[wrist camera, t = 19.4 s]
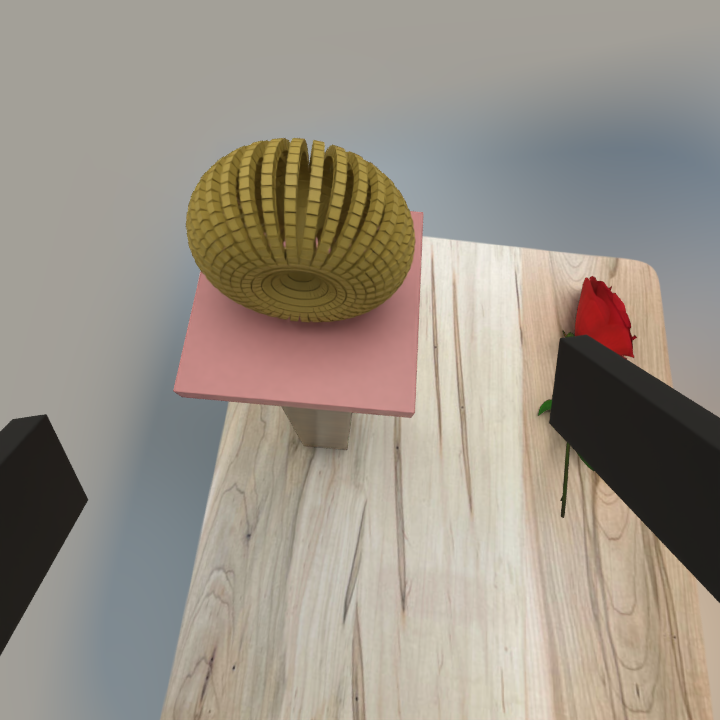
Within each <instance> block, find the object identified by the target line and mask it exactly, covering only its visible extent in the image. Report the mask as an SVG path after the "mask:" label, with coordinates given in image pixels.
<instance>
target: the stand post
mask: <svg viewBox="0 0 720 720" xmlns="http://www.w3.org/2000/svg"><path fill="white" fill-rule="evenodd" d="M282 408H283V410H284V412H285V413H286V415H287V417H288V419H289V420H290V422H291V424H292V426H293V428H294V429H295V431H296V433H297V435H298V436H299V438H300V440H301V442H302V444H303V445H304V446H310V447H321V448H332V449H344V450H347V448H348V440H349V432H350V424H351V416H352V412H341V411H330V410H319V409H308V408H297V407H286V406H282Z"/></svg>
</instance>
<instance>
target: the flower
mask: <svg viewBox="0 0 720 720" xmlns="http://www.w3.org/2000/svg"><path fill="white" fill-rule="evenodd" d="M589 279H590V281H589ZM589 279H588V278H585V280H584V283H583V287H582V291H581V296H580V300H579V305H578V309H577V315H576V323H575V336H580V335H586V334H587V335H588V336H590V337H592V338H593V339H595V340H596V341H598V342H600V343H601V344H603V345H604V346H606V347H607V348H609V349H611V350H612V351H614V352H615V353H617V354H619V355H620V356H622V357H623V356H630V357H633V358H634V355H633V344H632V340H634V339H635V338H637V337H636V336H635V335H634V337H632V335H631V333H630V329H631V323H630V320H629V317H628V315H627V313H626V309H625V305H624V303H623V302H622V301H621V299H620V298H619V297H618V296H617V295H616V293H612V292H611V288H612V286H611V287H610V288H608V287H607V286H606V285H605V283H604V282H603V281H597V280H596V278H595V277H593V276H591V277H590V278H589ZM563 334H564V336H565V338H566V337H573V336H574V334H573V333H571V332H570V333H569V334H568V335H566V334H565V332H564V331H563ZM623 358H625V357H623ZM625 359H627V358H625ZM552 396H553V395H552ZM551 405H552V400H550V399H549V400H547V401H546V402H544V403H543V404H542V406H541V407H540V409H539V413H538V416H539V415H541V414H542V413H543V412H545V411H546V410H551ZM569 452H570V445H569V443H568V442H567V446H566V456H565V470H564V484H563V496H562V498H561V501H562V509H561V517H562V518H564V515H565V506H566V494H567V481H568V466H569ZM577 454H578V453H577ZM578 455H579V454H578ZM579 457H580V458H581V460H582V461H583V462H584V463H585V464H586V465H587V466H588V467H589V468H590V469H591V470H592V471H594V470H593V469H592V468H591V467H590V466H589V465H588V464H587V462H586V461H585V460H584V459H583V458H582V457H581V456H580V455H579Z"/></svg>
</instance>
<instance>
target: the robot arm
mask: <svg viewBox="0 0 720 720" xmlns="http://www.w3.org/2000/svg"><path fill="white" fill-rule="evenodd" d="M549 423H550V424H551V426H552V427H553V428H554V429H555V430H556V431H557V432H558V433H559V434H560V435H561V436H562V437H563V438H564V439H565V440H566V441H567V442H568V443H569V445H570V446H571V447H572V448H573V449H574V450H575V451H576V452H577V453H578V454H579V455H580V456H581V457H582V458H583V459H584V460H585V461H586V462H587V464H588V465H589V466H590V467H591V468H592V469H593V470H594V471H595V472H596V473H597V474H598V475H599V476H600V477H601V478H602V479H603V480H604V481H605V483H606V484H607V485H608V486H609V487H610V488H611V489H612V490H613V491H614V492H615V493H616V494H617V495H618V496H619V497H620V498H621V499H622V500H623V502H624V503H625V504H626V505H627V506H628V507H629V508H630V509H631V510H632V511H633V512H634V513H635V514H636V515H637V516H638V517H639V518H640V519H641V521H642V522H643V523H644V524H645V525H646V526H647V527H648V528H649V529H650V530H651V531H652V532H653V533H654V534H655V535H656V536H657V537H658V538H659V540H660V541H661V542H662V543H663V544H664V545H665V546H666V547H667V548H668V549H669V550H670V551H671V552H672V553H673V554H674V555H675V556H676V557H677V558H678V560H679V561H680V562H681V563H682V564H683V565H684V566H685V567H686V568H687V569H688V570H689V571H690V572H691V573H692V574H693V575H694V576H695V577H696V579H697V580H698V581H699V582H700V583H701V584H702V585H703V586H704V587H705V588H706V589H707V590H708V591H709V592H710V593H711V594H712V595H713V596H714V598H715V599H716V600H717V601H718V602H719V603H720V418H719V417H718V416H716V415H714V414H713V413H711V412H710V411H708V410H706V409H705V408H703V407H702V406H700V405H698V404H697V403H695V402H694V401H692V400H690V399H689V398H687V397H685V396H684V395H682V394H681V393H679V392H678V391H676V390H674V389H673V388H671V387H670V386H668V385H666V384H665V383H663V382H662V381H660V380H659V379H657V378H655V377H654V376H652V375H651V374H649V373H647V372H646V371H644V370H643V369H641V368H639V367H638V366H636V365H635V364H633V363H631V362H630V361H628V360H627V359H625V358H623V357H622V356H620V355H619V354H617V353H615V352H614V351H612V350H611V349H609V348H607V347H606V346H604V345H603V344H601V343H600V342H598V341H596V340H595V339H593V338H592V337H590V336H588V335H587V334H586V335H580V336H573V337H566V338H560V342H559V350H558V358H557V366H556V373H555V381H554V389H553V397H552V405H551V413H550V420H549ZM87 501H88V498H87V496H86V494H85V492H84V491H83V488H82V486H81V484H80V482H79V480H78V478H77V476H76V474H75V472H74V470H73V468H72V466H71V464H70V462H69V460H68V458H67V456H66V453H65V451H64V449H63V447H62V445H61V443H60V441H59V439H58V437H57V435H56V433H55V431H54V429H53V427H52V425H51V423H50V421H49V419H48V417H47V415H46V414H45V415H38V416H31V417H25V418H18V419H13V420H12V421H10V423H8V425H7V426H5V428H3V429H2V431H0V655H1V654H2V652H3V650H4V648H5V646H6V645H7V643H8V641H9V639H10V637H11V636H12V634H13V632H14V630H15V629H16V627H17V625H18V623H19V622H20V620H21V618H22V616H23V614H24V613H25V611H26V609H27V607H28V605H29V604H30V602H31V600H32V598H33V597H34V595H35V593H36V591H37V590H38V588H39V586H40V584H41V583H42V581H43V579H44V577H45V576H46V574H47V572H48V570H49V568H50V567H51V565H52V563H53V561H54V559H55V558H56V556H57V554H58V552H59V551H60V549H61V547H62V545H63V544H64V542H65V540H66V538H67V536H68V535H69V533H70V531H71V529H72V528H73V526H74V524H75V522H76V521H77V519H78V517H79V515H80V513H81V512H82V510H83V508H84V506H85V505H86V503H87Z"/></svg>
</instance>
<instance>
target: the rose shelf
mask: <svg viewBox="0 0 720 720" xmlns="http://www.w3.org/2000/svg"><path fill="white" fill-rule="evenodd" d="M238 203H239V202H238ZM410 213H411V216H412V219H413V223H414V230H415V240H416V244H415V245H414V246H415V248H414V250H415V251H414V256H413V258H414V259H413V262H412V263H411V264H412V265H411V268H410V271H409V272H408V274H407V277H405V280H404V281H403V284H402V285H401V287H400V288H399V289H397V291H396V292H395V293H394V294H393V295H392V297H391V298H390V299H387V301H385V302H384V303H383V304H381V305H380V306H379V307H377V308H376V309H373V310H370V312H367V313H365V314H362V315H360V316H356V317H354V318H350V319H345V320H344V319H343V320H340V321H333V322H312V321H310V322H304V321H303V322H301V319H300V315H299V320H298V322H297V321H294V320H293V321H290V317H289V318H288V319H287V320H284V319H279V318H278V317H270V316H267V315H265V314H260V313H257V312H255V311H253V310H250V309H249V308H248V309H247V307H246V308H245V307H243V306H242V305H240V304H237V303H236V302H234V301H233V300H231V299H229V298H228V297H227V296H225V295H223V294H222V292H219V291H218V289H217V288H215V287H214V286H213V285H212V284H211V283H210V282H209V281H208V280H207V279H206V278H205V277H206V275H204V274H203V273H202V272H200V277H199V281H198V285H197V290H196V294H195V298H194V303H193V307H192V312H191V316H190V320H189V325H188V329H187V333H186V338H185V342H184V346H183V351H182V355H181V360H180V364H179V369H178V373H177V377H176V382H175V386H174V390H173V391H174V392H175V393H177V394H178V395H179V396H181V397H186V398H197V399H208V400H221V401H231V402H242V403H253V404H264V405H275V406H286V407H297V408H308V409H319V410H330V411H341V412H352V413H363V414H374V415H385V416H397V417H408V418H411V417H412V416H413V415H414V413H415V399H416V375H417V352H418V328H419V304H420V280H421V256H422V231H423V212H413V211H410ZM242 223H243V222H242ZM244 224H245V223H244ZM379 228H380V227H379ZM249 236H250V235H249ZM371 236H372V235H371ZM317 240H318V239H317V238H316V247H317V245H318V241H317ZM240 241H241V240H240ZM214 242H215V241H214ZM283 244H284V246H285V245H286V243H285V242H284V243H283ZM385 245H386V244H385ZM269 246H271V245H269ZM270 248H271V247H270ZM285 248H286V247H285ZM329 248H330V247H329ZM368 248H369V247H368ZM316 249H317V248H316ZM330 249H331V248H330ZM330 249H328V250H329V251H330ZM221 252H222V251H221ZM330 252H331V251H330ZM330 252H329V253H330ZM364 252H365V251H364ZM236 255H237V254H236ZM368 261H369V260H368ZM373 284H374V283H373Z"/></svg>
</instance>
